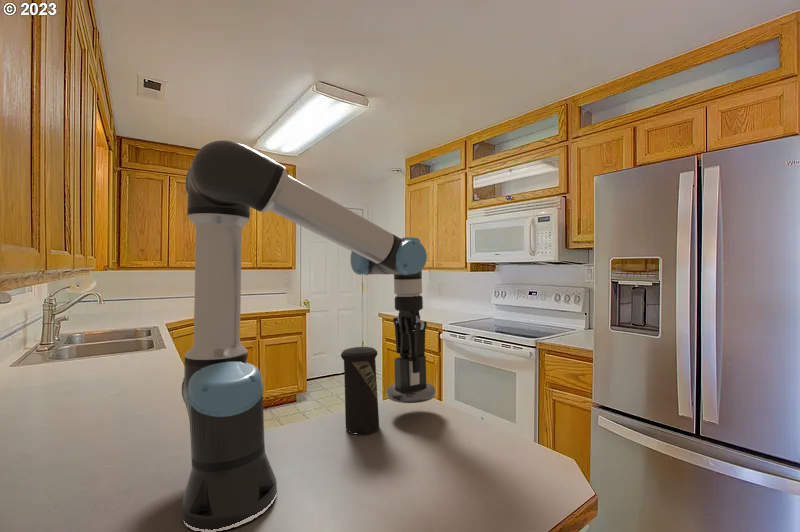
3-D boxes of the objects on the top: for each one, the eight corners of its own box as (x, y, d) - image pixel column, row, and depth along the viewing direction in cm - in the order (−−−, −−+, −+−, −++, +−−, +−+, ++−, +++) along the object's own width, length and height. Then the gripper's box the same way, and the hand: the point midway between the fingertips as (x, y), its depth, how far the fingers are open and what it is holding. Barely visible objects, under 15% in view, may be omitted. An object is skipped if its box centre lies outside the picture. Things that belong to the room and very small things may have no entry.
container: (371, 438, 91) (368, 352, 91) (337, 433, 94) (334, 351, 94) (385, 423, 99) (382, 345, 99) (354, 419, 102) (351, 343, 102)
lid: (445, 396, 102) (444, 358, 102) (402, 406, 95) (401, 365, 95) (418, 384, 113) (417, 349, 113) (378, 392, 106) (377, 356, 106)
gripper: (437, 295, 99) (440, 387, 99) (404, 293, 113) (407, 373, 113) (412, 297, 95) (415, 393, 95) (382, 294, 109) (384, 378, 109)
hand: (410, 382), depth 104 cm, fingers closed on lid, 3 cm apart
